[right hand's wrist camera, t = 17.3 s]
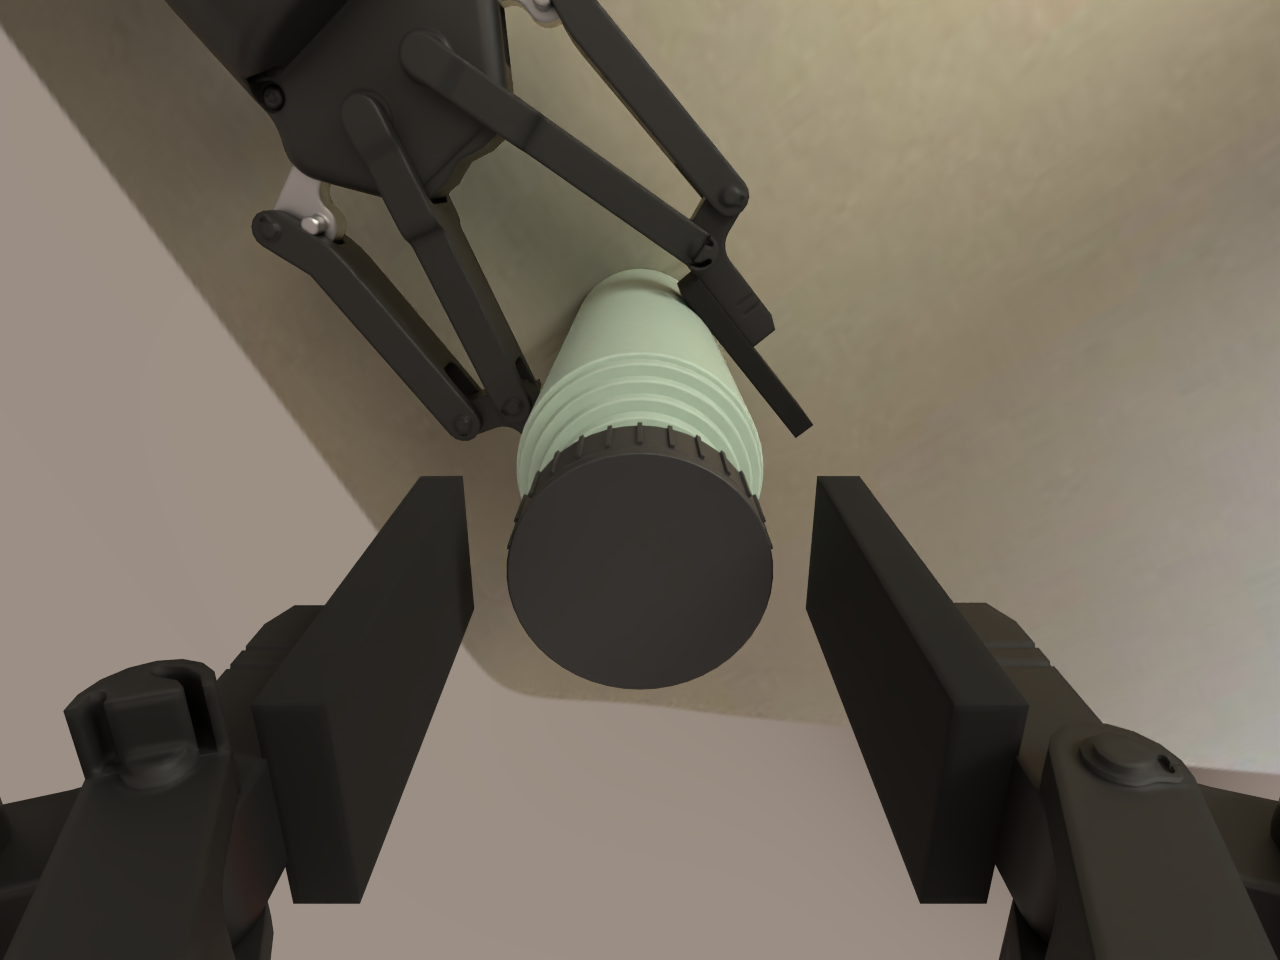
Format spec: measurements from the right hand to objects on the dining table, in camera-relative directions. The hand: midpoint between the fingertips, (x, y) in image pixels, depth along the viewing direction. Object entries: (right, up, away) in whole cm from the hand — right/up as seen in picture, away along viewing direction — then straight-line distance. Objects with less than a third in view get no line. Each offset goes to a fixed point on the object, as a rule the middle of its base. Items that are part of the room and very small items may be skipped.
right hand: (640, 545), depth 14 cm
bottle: (0, +7, +19) cm, 21 cm away
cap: (0, 0, -1) cm, 1 cm away
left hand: (+3, +1, +15) cm, 15 cm away
